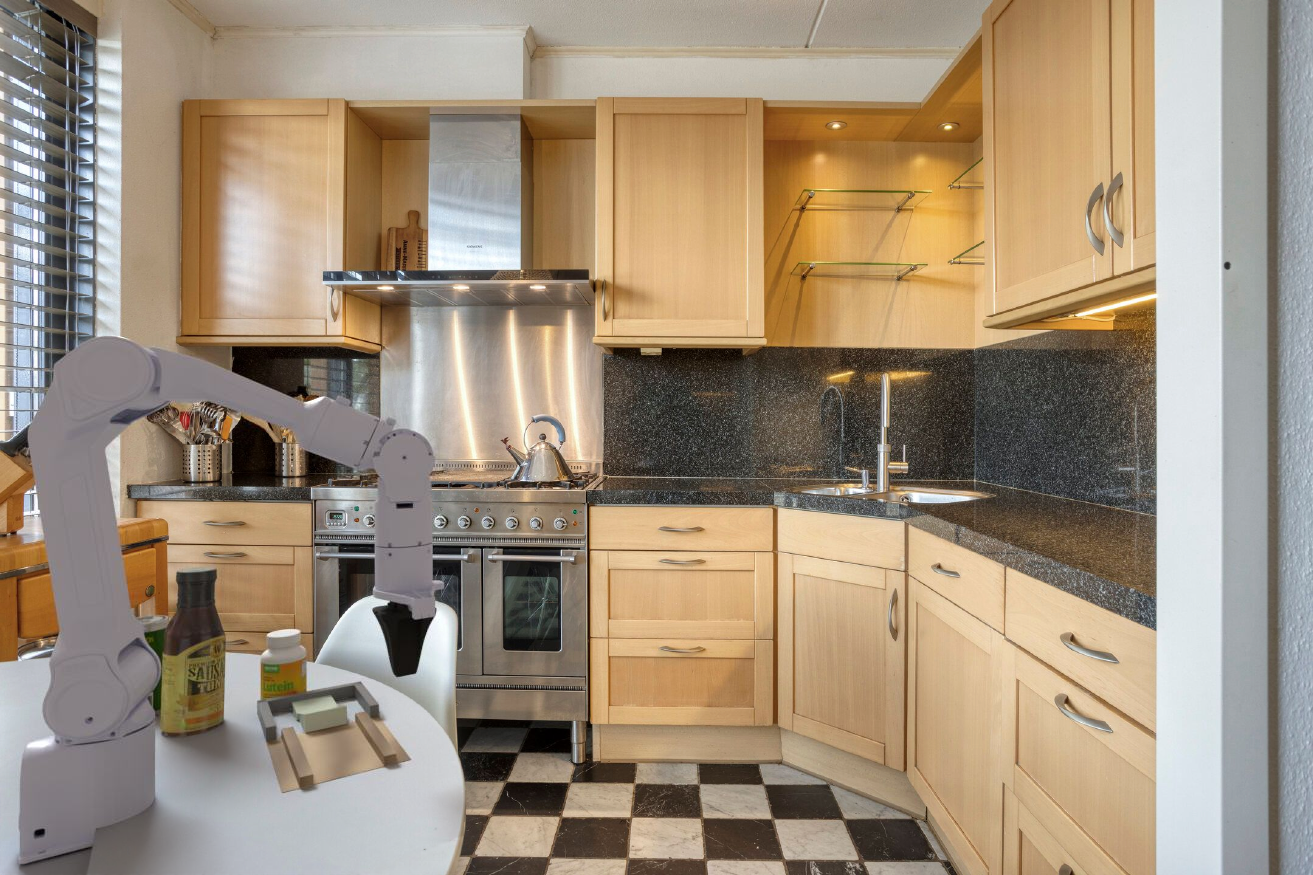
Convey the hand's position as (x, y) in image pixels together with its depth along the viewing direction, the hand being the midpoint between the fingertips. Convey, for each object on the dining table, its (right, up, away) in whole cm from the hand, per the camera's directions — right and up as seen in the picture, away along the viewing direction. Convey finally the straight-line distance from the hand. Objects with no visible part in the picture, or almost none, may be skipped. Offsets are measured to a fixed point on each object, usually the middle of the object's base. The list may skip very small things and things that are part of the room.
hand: (404, 673), depth 73 cm
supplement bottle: (-23, -11, +19) cm, 32 cm away
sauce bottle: (-28, -11, +9) cm, 32 cm away
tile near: (-13, -10, +10) cm, 19 cm away
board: (-8, -11, +2) cm, 14 cm away
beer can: (-40, -11, +17) cm, 45 cm away
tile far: (-16, -10, +14) cm, 24 cm away
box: (-15, -11, +12) cm, 22 cm away
